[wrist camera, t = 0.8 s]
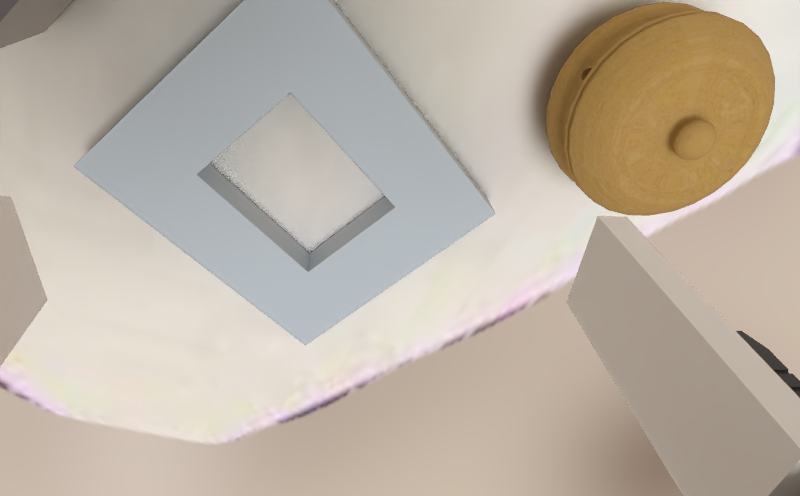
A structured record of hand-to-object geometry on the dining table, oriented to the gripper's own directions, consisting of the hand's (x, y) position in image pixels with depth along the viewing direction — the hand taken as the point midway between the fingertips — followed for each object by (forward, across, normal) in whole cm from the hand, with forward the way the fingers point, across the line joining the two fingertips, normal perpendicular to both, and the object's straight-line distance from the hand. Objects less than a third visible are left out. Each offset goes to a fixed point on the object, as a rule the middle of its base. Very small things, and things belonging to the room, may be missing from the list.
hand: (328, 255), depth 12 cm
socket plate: (+22, -2, -9) cm, 24 cm away
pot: (+23, +19, -2) cm, 30 cm away
